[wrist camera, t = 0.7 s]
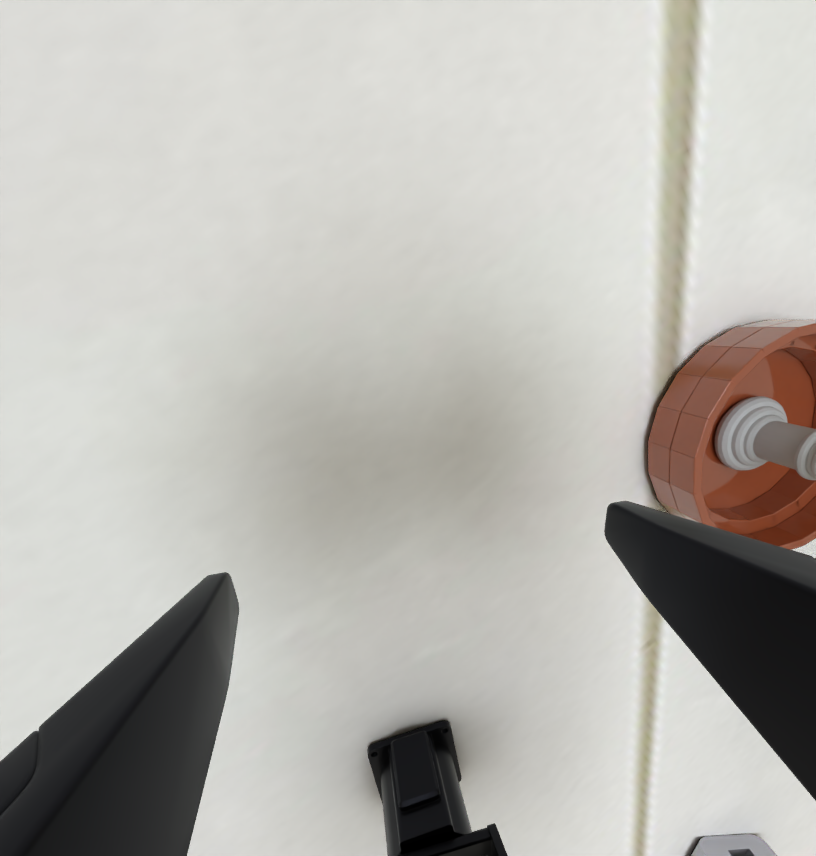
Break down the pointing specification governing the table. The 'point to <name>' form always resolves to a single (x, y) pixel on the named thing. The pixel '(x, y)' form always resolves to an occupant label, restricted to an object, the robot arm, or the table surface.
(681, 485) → the bowl
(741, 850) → the charger
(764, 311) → the table surface
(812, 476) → the chess piece
